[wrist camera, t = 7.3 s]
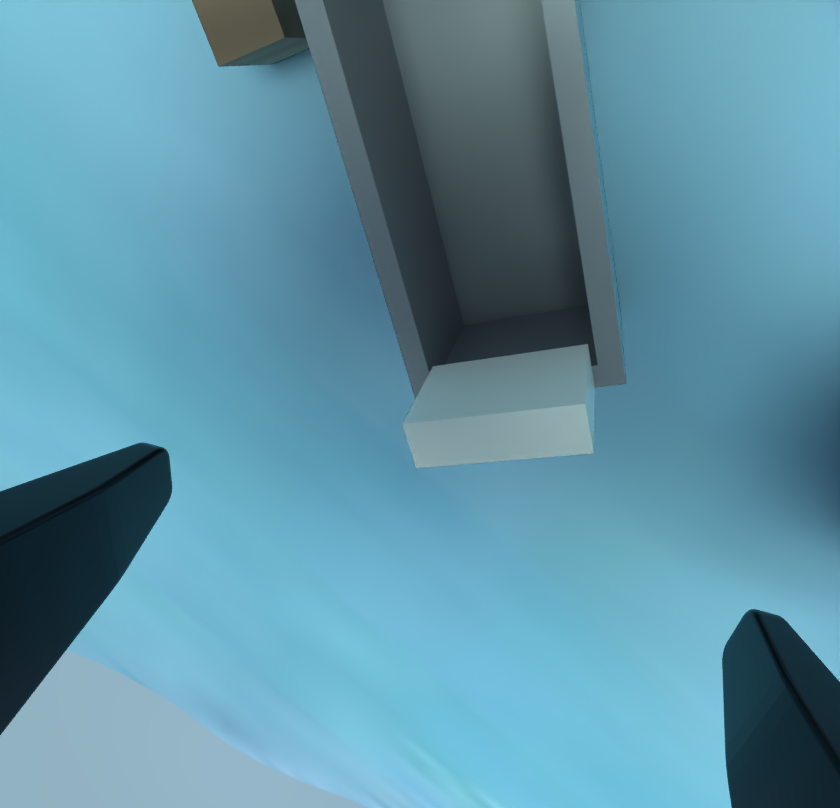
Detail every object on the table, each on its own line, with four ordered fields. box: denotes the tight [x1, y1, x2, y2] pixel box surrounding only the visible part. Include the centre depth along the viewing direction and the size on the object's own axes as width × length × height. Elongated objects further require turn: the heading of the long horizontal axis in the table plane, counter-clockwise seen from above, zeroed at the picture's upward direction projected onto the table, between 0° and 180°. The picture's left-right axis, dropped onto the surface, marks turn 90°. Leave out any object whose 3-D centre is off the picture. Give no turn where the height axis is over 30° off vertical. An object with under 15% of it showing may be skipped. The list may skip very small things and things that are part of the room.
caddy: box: [295, 0, 626, 468], centre depth 14 cm, size 12×6×8 cm, turn 16°
